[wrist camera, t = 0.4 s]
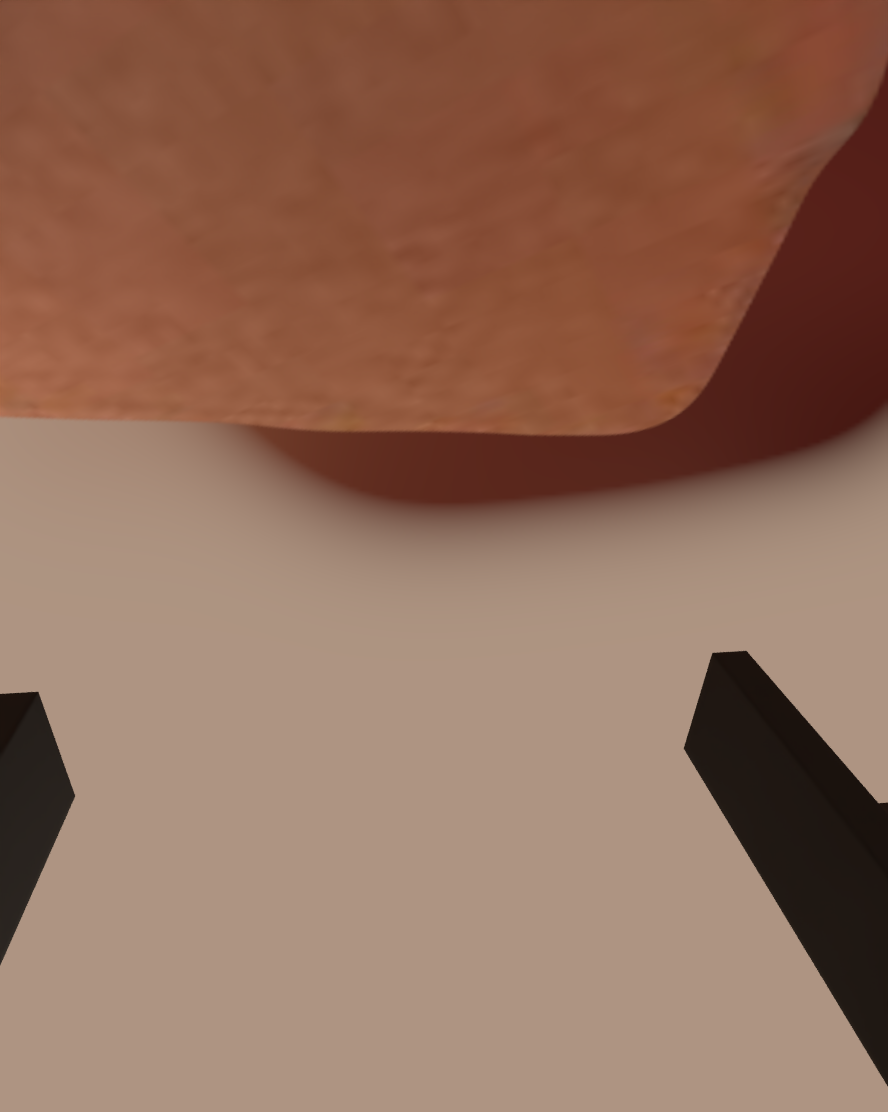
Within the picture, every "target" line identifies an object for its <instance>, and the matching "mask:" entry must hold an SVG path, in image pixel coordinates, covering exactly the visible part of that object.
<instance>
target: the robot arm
mask: <svg viewBox="0 0 888 1112" xmlns="http://www.w3.org/2000/svg"><path fill="white" fill-rule="evenodd" d="M684 750H685V751H686V753H687V755H688V756H689V758H690V760H691V761H692V763H693V765H694V766H695V768H696V770H697V771H698V773H699V775H700V776H701V778H702V780H703V781H704V783H705V784H706V786H707V788H708V790H709V791H710V793H711V794H712V796H713V798H714V799H715V801H716V803H717V804H718V806H719V808H720V809H721V811H722V813H723V814H724V816H725V818H726V819H727V821H728V823H729V824H730V826H731V828H732V829H733V831H734V832H735V834H736V836H737V837H738V839H739V841H740V842H741V844H742V846H743V847H744V849H745V851H746V852H747V854H748V856H749V857H750V859H751V861H752V862H753V864H754V866H755V867H756V869H757V871H758V872H759V874H760V876H761V877H762V879H763V881H764V882H765V884H766V886H767V887H768V889H769V891H770V892H771V894H772V895H773V897H774V899H775V900H776V902H777V904H778V905H779V907H780V909H781V910H782V912H783V914H784V915H785V917H786V919H787V920H788V922H789V924H790V925H791V927H792V928H793V930H794V932H795V934H796V935H797V937H798V939H799V940H800V942H801V943H802V945H803V947H804V948H805V950H806V952H807V953H808V955H809V957H810V958H811V960H812V962H813V963H814V965H815V967H816V968H817V970H818V972H819V973H820V975H821V977H822V978H823V980H824V981H825V983H826V984H827V987H828V988H829V990H830V991H831V993H832V995H833V996H834V998H835V1000H836V1001H837V1003H838V1005H839V1006H840V1008H841V1010H842V1011H843V1013H844V1015H845V1016H846V1018H847V1020H848V1021H849V1023H850V1024H851V1026H852V1028H853V1029H854V1031H855V1033H856V1035H857V1036H858V1038H859V1040H860V1041H861V1043H862V1044H863V1046H864V1048H865V1049H866V1051H867V1053H868V1054H869V1056H870V1058H871V1059H872V1061H873V1063H874V1064H875V1066H876V1068H877V1069H878V1071H879V1073H880V1074H881V1076H882V1078H883V1079H884V1081H885V1083H886V1084H887V1086H888V803H877V801H876V800H875V799H874V798H873V796H872V795H871V794H870V793H869V792H868V791H867V790H866V788H865V787H864V786H863V785H862V784H861V783H860V782H859V780H858V779H857V778H856V777H855V776H854V775H853V773H852V772H851V771H850V770H849V769H848V768H847V767H846V765H845V764H844V763H843V762H842V761H841V760H840V759H839V757H838V756H837V755H836V754H835V753H834V752H833V750H832V749H831V748H830V747H829V746H828V745H827V743H826V742H825V741H824V740H823V739H822V738H821V737H820V735H819V734H818V733H817V732H816V731H815V730H814V728H813V727H812V726H811V725H810V724H809V723H808V721H807V720H806V719H805V718H804V717H803V716H802V715H801V714H800V712H799V711H798V710H797V709H796V708H795V706H794V705H793V704H792V703H791V702H790V701H789V700H788V698H787V697H786V696H785V695H784V694H783V693H782V691H781V690H780V689H779V688H778V687H777V686H776V685H775V683H774V682H773V681H772V680H771V679H770V678H769V676H768V675H767V674H766V673H765V672H764V671H763V670H762V669H761V667H760V666H759V665H758V664H757V663H756V661H755V660H754V659H753V658H752V657H751V656H750V655H749V654H748V652H747V651H738V652H720V653H712V656H711V659H710V663H709V666H708V669H707V673H706V676H705V679H704V683H703V686H702V689H701V693H700V696H699V699H698V703H697V706H696V709H695V713H694V716H693V719H692V723H691V726H690V729H689V733H688V736H687V740H686V743H685V746H684ZM74 797H75V794H74V791H73V789H72V786H71V783H70V780H69V777H68V774H67V772H66V769H65V766H64V763H63V761H62V758H61V755H60V752H59V749H58V746H57V743H56V741H55V738H54V735H53V732H52V729H51V727H50V724H49V721H48V718H47V715H46V712H45V710H44V707H43V704H42V701H41V698H40V696H39V693H38V692H27V693H10V694H0V964H1V962H2V960H3V958H4V955H5V953H6V951H7V949H8V946H9V944H10V942H11V940H12V937H13V935H14V933H15V931H16V928H17V926H18V924H19V922H20V919H21V917H22V915H23V913H24V910H25V908H26V906H27V904H28V901H29V899H30V897H31V895H32V892H33V890H34V888H35V886H36V883H37V881H38V879H39V876H40V874H41V872H42V870H43V868H44V865H45V863H46V861H47V858H48V856H49V854H50V852H51V849H52V847H53V845H54V843H55V840H56V838H57V836H58V834H59V831H60V829H61V827H62V825H63V822H64V820H65V818H66V816H67V813H68V811H69V809H70V807H71V804H72V802H73V800H74Z"/></svg>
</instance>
